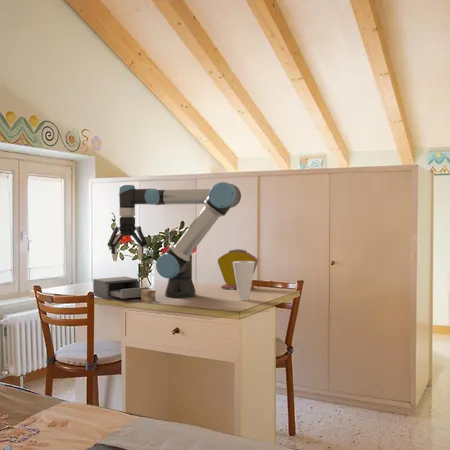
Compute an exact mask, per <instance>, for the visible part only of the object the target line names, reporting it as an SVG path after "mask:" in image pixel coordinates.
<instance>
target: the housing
mask: <svg viewBox="0 0 450 450" xmlns="http://www.w3.org/2000/svg"><path fill="white" fill-rule="evenodd" d="M138 280H139V278H134V277H129V276H115V277H105V278H104V277H103V278H93V280H92V282H93V283H92V284H93V285H92V286H93V287H92V288H93V293H94V294H95V295H94V296H95V297H100V298H103V299H116V298H117V297H115V296H111V295H109V291H114V290H121V289H132V288H141V287H140V286H141V284H140V281H138Z"/></svg>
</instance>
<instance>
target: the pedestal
mask: <svg viewBox="0 0 450 450" xmlns="http://www.w3.org/2000/svg"><path fill="white" fill-rule="evenodd" d="M156 294H157V293H156V289H152V288H151V289H150V288H149V289H147V290H141V297H140V298H141V299H140V301H141V302H145V303H147V302H148V303H150V302H156V301H157V300H156Z"/></svg>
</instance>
